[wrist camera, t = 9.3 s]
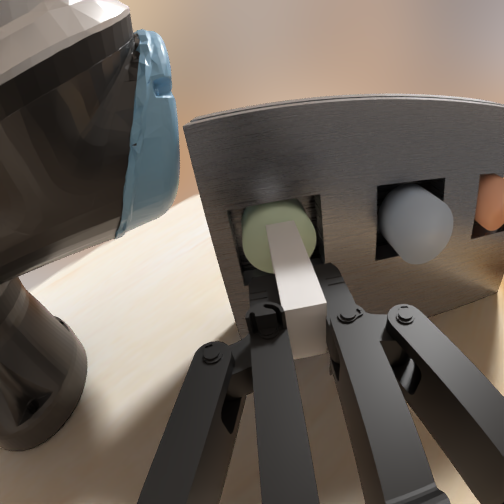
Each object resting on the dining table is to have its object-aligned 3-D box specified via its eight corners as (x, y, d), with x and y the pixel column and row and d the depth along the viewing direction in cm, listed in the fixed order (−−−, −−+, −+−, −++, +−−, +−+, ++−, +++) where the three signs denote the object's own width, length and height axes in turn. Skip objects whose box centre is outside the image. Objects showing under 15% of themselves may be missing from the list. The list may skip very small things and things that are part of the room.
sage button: (249, 279, 17) (235, 215, 15) (247, 256, 19) (235, 198, 17) (318, 266, 17) (313, 202, 15) (309, 245, 19) (303, 186, 17)
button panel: (246, 358, 21) (182, 126, 13) (244, 313, 25) (196, 117, 17) (497, 291, 20) (529, 111, 12) (469, 262, 24) (486, 100, 16)
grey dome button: (393, 270, 15) (398, 204, 13) (376, 247, 17) (377, 187, 15) (447, 257, 15) (457, 195, 13) (428, 237, 17) (433, 180, 15)
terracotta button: (476, 234, 16) (484, 180, 14) (457, 219, 18) (462, 168, 16) (508, 226, 16) (516, 177, 14) (489, 212, 18) (495, 166, 16)
